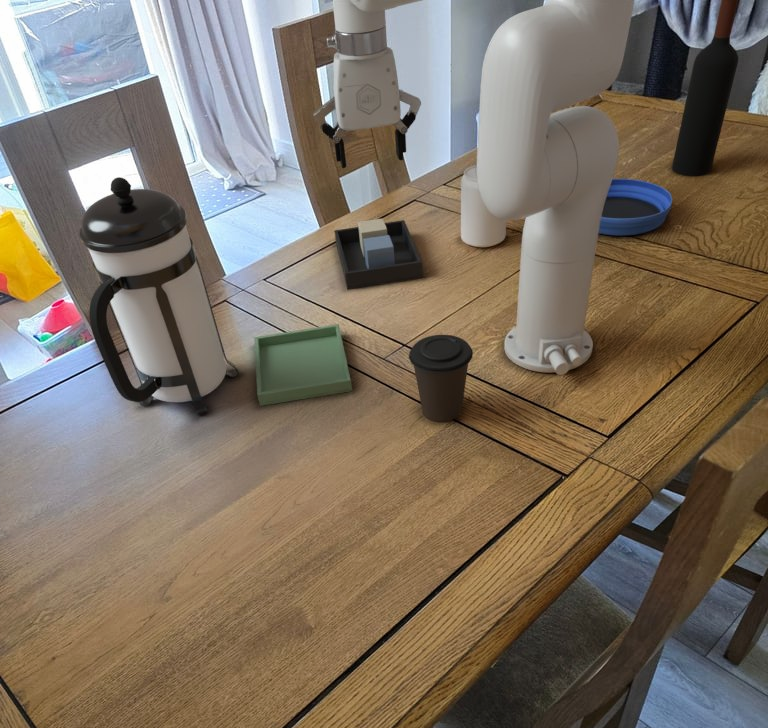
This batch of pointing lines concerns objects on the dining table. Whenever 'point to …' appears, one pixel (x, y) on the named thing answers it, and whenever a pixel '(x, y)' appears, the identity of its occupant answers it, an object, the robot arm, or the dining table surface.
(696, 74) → the wine bottle
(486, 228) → the beverage can
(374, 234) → the cream block
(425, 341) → the coffee cup
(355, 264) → the black tray
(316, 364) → the dish
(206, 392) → the coffee press
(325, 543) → the dining table surface
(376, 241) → the bluegrey block
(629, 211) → the bowl
